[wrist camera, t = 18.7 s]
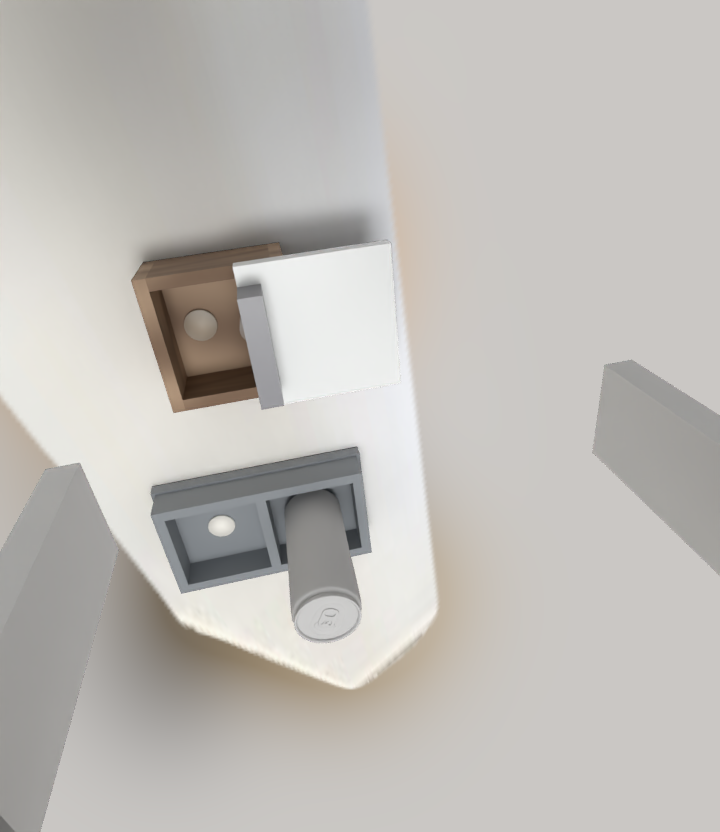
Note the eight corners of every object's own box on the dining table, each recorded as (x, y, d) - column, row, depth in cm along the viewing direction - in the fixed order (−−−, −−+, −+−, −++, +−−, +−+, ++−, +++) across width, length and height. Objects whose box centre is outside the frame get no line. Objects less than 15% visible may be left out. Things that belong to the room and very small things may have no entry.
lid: (232, 263, 32) (232, 278, 29) (386, 239, 33) (401, 252, 30) (263, 401, 37) (265, 426, 34) (397, 377, 38) (410, 399, 35)
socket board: (152, 486, 44) (145, 514, 41) (357, 446, 46) (365, 470, 43) (182, 566, 48) (178, 596, 45) (367, 527, 50) (375, 553, 47)
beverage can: (277, 524, 47) (283, 641, 36) (293, 479, 45) (304, 590, 34) (330, 532, 48) (349, 647, 38) (347, 490, 46) (373, 599, 36)
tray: (142, 262, 35) (131, 280, 32) (278, 242, 36) (283, 257, 33) (180, 383, 40) (173, 412, 36) (300, 362, 41) (306, 389, 37)
